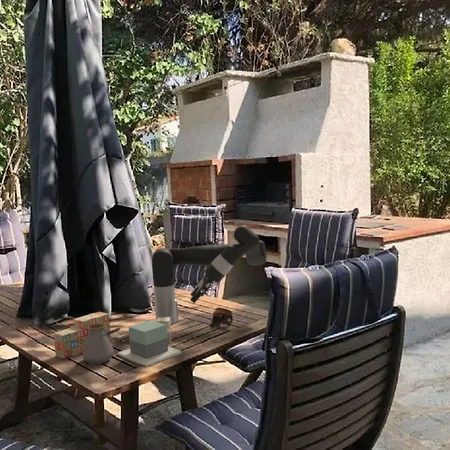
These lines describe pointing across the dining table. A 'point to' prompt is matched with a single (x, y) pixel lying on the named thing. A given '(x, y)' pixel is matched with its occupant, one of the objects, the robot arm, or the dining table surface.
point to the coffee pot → (98, 345)
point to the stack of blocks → (78, 335)
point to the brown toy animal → (223, 318)
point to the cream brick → (167, 321)
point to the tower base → (148, 343)
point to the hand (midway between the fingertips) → (192, 298)
